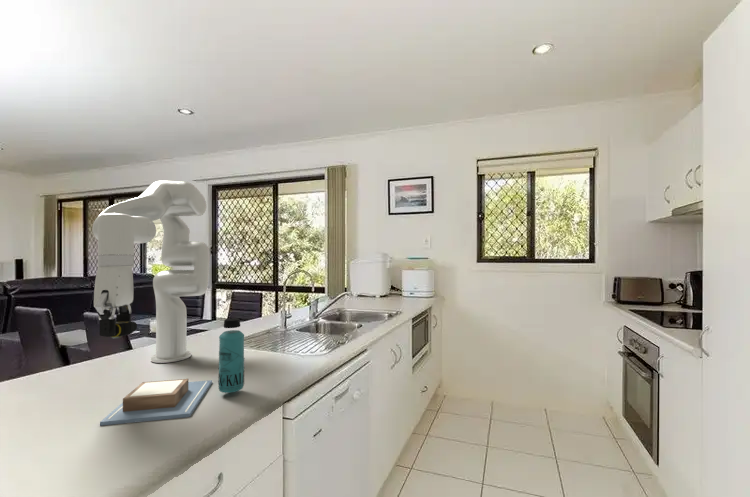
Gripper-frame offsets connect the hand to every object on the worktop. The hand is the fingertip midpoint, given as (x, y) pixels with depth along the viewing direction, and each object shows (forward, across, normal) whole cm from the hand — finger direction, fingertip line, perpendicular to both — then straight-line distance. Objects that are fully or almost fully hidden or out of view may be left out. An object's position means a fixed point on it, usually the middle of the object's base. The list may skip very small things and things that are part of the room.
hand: (115, 331), depth 90 cm
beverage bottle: (+18, +1, +28) cm, 33 cm away
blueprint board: (+18, +2, +12) cm, 22 cm away
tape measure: (+2, -1, 0) cm, 2 cm away
